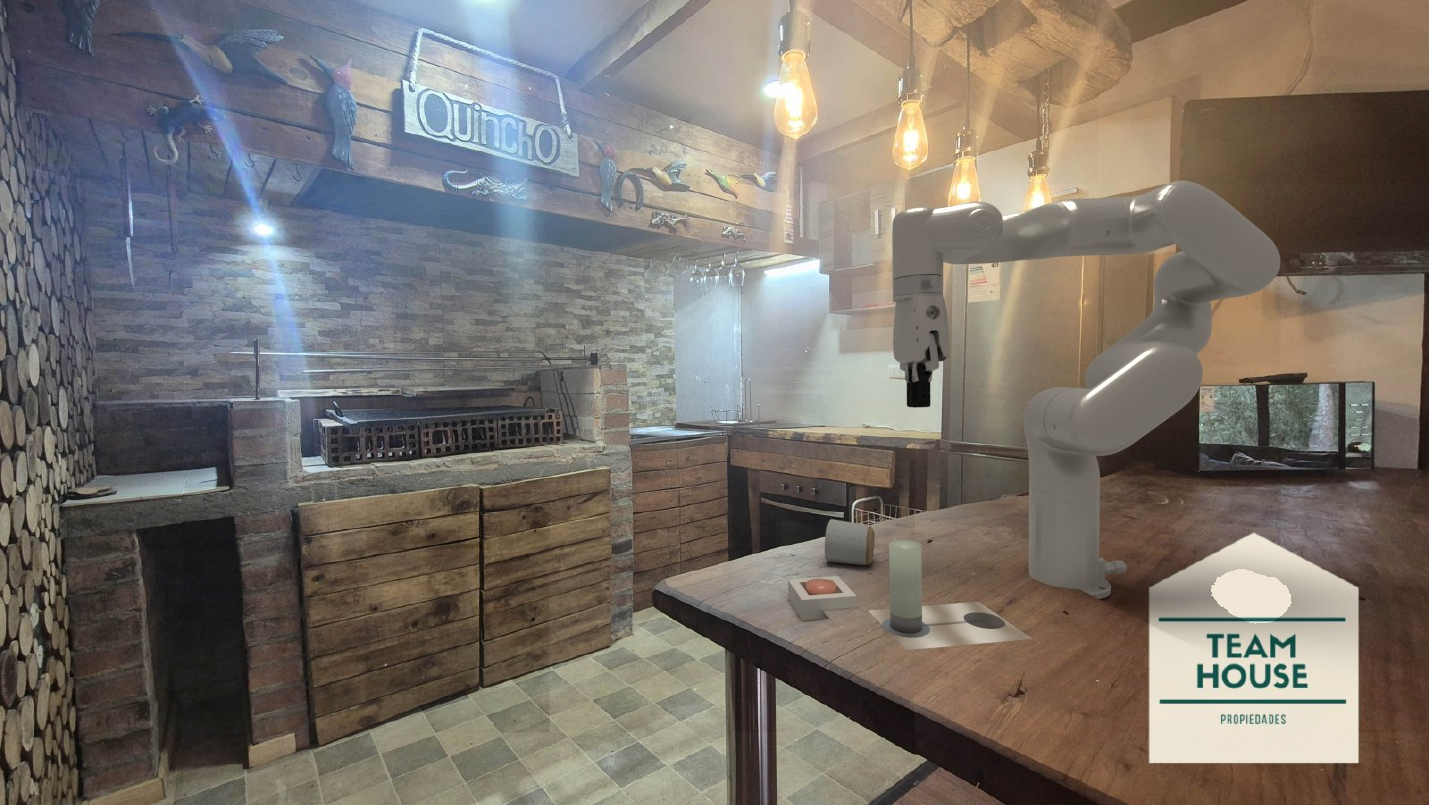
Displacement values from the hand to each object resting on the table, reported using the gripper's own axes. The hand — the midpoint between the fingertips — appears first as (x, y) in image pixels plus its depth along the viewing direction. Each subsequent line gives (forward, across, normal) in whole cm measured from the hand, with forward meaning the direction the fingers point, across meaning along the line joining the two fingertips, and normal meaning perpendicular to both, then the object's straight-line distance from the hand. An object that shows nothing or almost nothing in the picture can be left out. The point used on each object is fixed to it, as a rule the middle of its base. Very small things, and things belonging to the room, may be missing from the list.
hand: (918, 406), depth 90 cm
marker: (+28, -16, +10) cm, 34 cm away
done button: (+28, -5, +18) cm, 33 cm away
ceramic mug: (+29, +14, +6) cm, 33 cm away
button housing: (+29, -5, +18) cm, 35 cm away
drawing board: (+29, -16, +4) cm, 34 cm away
